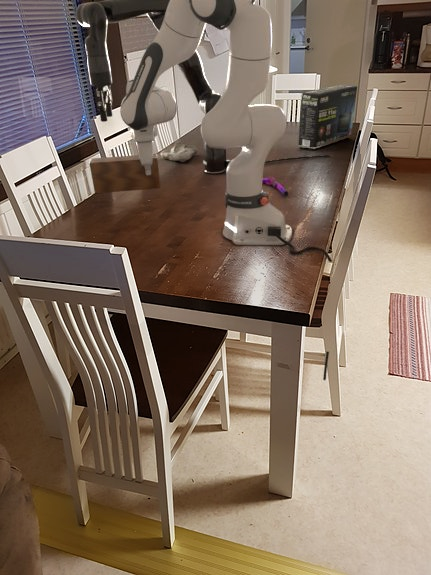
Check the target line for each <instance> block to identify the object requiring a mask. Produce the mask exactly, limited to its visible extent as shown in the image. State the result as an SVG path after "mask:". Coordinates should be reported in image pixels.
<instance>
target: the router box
mask: <svg viewBox="0 0 431 575" xmlns="http://www.w3.org/2000/svg"><path fill="white" fill-rule="evenodd" d="M357 93H358V86H356V85H350V84H339V85H338V84H337V85H334V86H328V87H324V88H318V89H314V90H309V91H304V92H301V93H300V109H299V110H300V111H299V124H298V137H297V146H298V145H302V146H307V147H317V146H320V145H323V144H325V143H328V142H331V141H333V140H336V139H338V138H341V137H344V136H347V135H351V136H352V133H353V132H352V131H353V125H354V115H355V109H356V99H357ZM311 151H313V150H312V149H311Z"/></svg>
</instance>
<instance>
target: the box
mask: <svg viewBox="0 0 431 575" xmlns="http://www.w3.org/2000/svg"><path fill="white" fill-rule="evenodd" d="M88 163H89V169H90V174H91V180H92V185H93V191H94V194H105V193H117V192H131V191H132V192H133V191H143V190H155V189H161V178H160V168H159V160H158V153H153V163H152V165H151V175H146V171H145V167H144V166H142V165H141V162H140V158H139V154H135V155H121V156H109V157H93V158H91V159H90V160H89V162H88Z"/></svg>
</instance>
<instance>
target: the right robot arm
mask: <svg viewBox="0 0 431 575" xmlns="http://www.w3.org/2000/svg"><path fill="white" fill-rule="evenodd" d="M256 1H257V0H170V2H169V4H168V7H167V10H166V13H165V16H164V20H163V23H162V25H161V28H160V30H159V32H158V31H157V34H156V36H155V37H154V39H153V40H152V42H151V43H150V44H149V45H148V46H147V48H146V49H145V51H144V53H143V55H142V57H141V60H140V62H139V65H138V67H137V70H136V71H135V75H134V78H132V79H130V80H128V82H127V83H126V86H125V95H124V97H123V99H122V101H121V104H120V108H119V109H120V110H119V112H120V117H121V120H122V122H124V124H125V125H126V126H127V127H129V129H130V137H131V138H132V139H133V141H134V143H136V148H137V152H138V155H139V158H140V162H141V165H142V166H144V167H145V171H146V175H151V165H152V163H153V154H154V152H153V151H154V141H155V139H156V137H157V136H158V135H159V134H158V125H161V124H164V123H168V122H170V121H172V120H174V119H175V117H176V115H177V108H178V107H177V102H176V98H175V97H174V95H173V93H171V92H170V91H168V90H165V89H162V88H160V87H158V86H157V85H156V84H157V81H158V79H159V78H160V77H161V76H162V74H164V73H165V72H166V71H168V70H170V69H171V68H173V67H174V66H176V65H177V64H179V63H181V62H184V61H186V60H187V59H189V58H190V57H191V56H192V55H193V54H194V53H195V51H197V50H198V48H199V45H200V44H201V39H202V37H203V34H204V31H205V28H206V25H207V24H208V25H210V26H212V27H214V28H216V29H217V30H220V31H223V30H225V29H226V30H227V32H228V37H229V42H228V58H227V59H228V60H227V73H226V80H225V85H224V88H223V91H222V93H221V94H220V95H221V97H220V99H219V101H218V102H217V104H216V105H215V106H214V107H213V108H212V109H211V110H210V111H209V112H208V113H207V114H206V115H205V114H204V116H203V118H202V120H201V124H200V136H201V138H202V141H203V140H204V141H205V143H206V144H207V145H208V146H209V147H211V148H219V149H226V150H228V149H234V148H235V149H236V148H241V150H240V152H239V154H237V155H236V157H234V158H233V159H231V162H230V163H229V164H228V166H227V168H226V170H225V177H226V178H225V179H226V180H225V181H226V182H225V183H226V190H225V194H224V205H225V209H226V210H225V218H224V219H225V220H224V226H223V229H222V235H223V237H225V239H228V240H230V241H232V243H233V244H234V245H236V246H283V245H286V246H288V247H290V250H289V251H290V253H291V254H293V255H300V254H302V253H304V252H305V251H308V250H315V251H320V252H322V253H323V254H324V256H325V257H326V259H327V260H328V262H330V263H333V260H332V258H331V256H330V255H329V253H328V252H327V250H325V249H324V248H322V247H319V246H312V245H311V246H306V247H303V248H302V249H300V250H295V247H294V245H293V244H292V243H290V240H291V239H292V237H293V228H292V227H291V225H288V224H286V219H285V215H284V213H283V212H282V211H280V210H279V209H278V208H277V207H276V206H275V205H272V204H271V203H270V202H269V194H270V192H269V191H267V192H266V191H265V190H263V183H262V179H263V178H264V169H265V168H264V167H265V164H266V163H265V161H267V157H268V156H269V154H270V152H271V150H272V149H273V147H274V146H275V144H276V143H277V142H278V141H279V140H280V139H281V138H283V136H284V134H285V132H286V129H287V117H286V114H285V112H284V111H283V109H282V108H281V106H279V105H274V104H264V103H262V104H254V105H253V104H252V105H251V103H252V102H253V100H255V98H256V97H259V95H261V94H262V93H264V91H265V90H266V89H267V86H268V84H269V78H270V77H269V76H270V67H271V58H272V44H273V32H272V31H273V29H272V28H273V26H272V16H271V14H270V12H269V11H268V10H267V9H266V8H265V7H263V6H261V5H260V4H255V3H256ZM177 66H178V65H177ZM329 355H330V351H327V350H326V351H325V361H324V368H323V378H322V380H323V381H326V380H327V371H328V362H329Z"/></svg>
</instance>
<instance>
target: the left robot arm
mask: <svg viewBox="0 0 431 575" xmlns="http://www.w3.org/2000/svg"><path fill="white" fill-rule="evenodd" d="M169 2H170V0H102V1H90V2H83V3H81V4H79V5H78V6H77V8H76V10H75V18H76V21H77V22H78V24H80V25H81V26H82V27H84V28H88V29H89V35H88V36H87V37H85V38H84V46H85V52H86V53H85V54H86V58H87V59H86V60H87V69H88V75H89V76H88V77H89V81H90V85H91V86H92V87H96V90H94V100H95V106H96V110H98V111H99V117H100V118H99V119H100V121H101V122H108V118H111V117H113V108H112V106H113V95H112V89H111V85H113V76H112V69H111V63H110V58H109V53H108V46H107V33H108V24H117V23H121V22H125V21H129V20H132V19H135V18H137V17H141V16H143V15H147V17H148V18H149V20H150V21H151V23H152V24H153V26H154V27H155V29H156V30H157V33H158V32H159V30H160V28H161V25H162V23H163V20H164V16H165V13H166V10H167V7H168V4H169ZM177 67H178V69H179V71H180V73H182V75H183V77H184V79H185V80H186V82H187V83H188V85H189V87H190V89H191V90H192V92H193V95H194V97H195V100H196V103H197V104H198V106H199V109H200V110H201V112H202V113H204V116H205V115H206V114H207V113H208V112H209V111H210V110H211V109H212V108H213V107H214V106H215V105H216V104H217V102H218V101H219V99H220V97H221V95H222V94H219V93H217V92H215V91H214V90H213V89H212V87H211V85H210V83H209V82H208V80H207V78H206V76H205V72H204V66H203V62H202V59H201V56H200V55H199V53H198V51H197V50H196V51H195V53H194V54H193V55H192V56H191V57H190V58H189V59H187V60H186V61H184V62H181V63H179V64H177ZM202 142H203V159H202V163H203V165H204V173H206V174H211V175H217V174H222V173H224V172H226V169H227V166H228V164H229V163H230V162H231V161H232V159H227V149H219V148H211V147H209V146H208V145H207V144H206V143H205V141H204V140H203V139H202ZM323 155H324V156H320V155H311V156H312V157H307V156H297V157H298V158H294V157H286V158H287V159H284V158H278V159H279V160H276V159H271V160H272V161H270V160H265V161H266V162H265V164H270V163H274V162H282V161H292V160H304V159H316V158H317V159H318V158H328V157H331V154H323ZM329 155H330V156H329Z"/></svg>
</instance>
